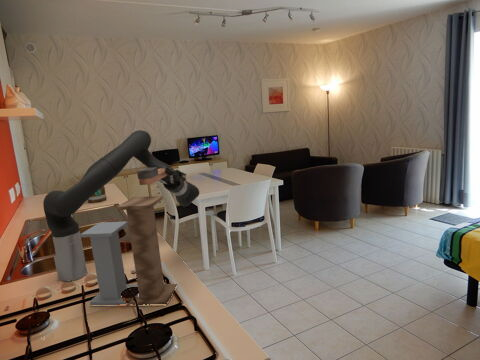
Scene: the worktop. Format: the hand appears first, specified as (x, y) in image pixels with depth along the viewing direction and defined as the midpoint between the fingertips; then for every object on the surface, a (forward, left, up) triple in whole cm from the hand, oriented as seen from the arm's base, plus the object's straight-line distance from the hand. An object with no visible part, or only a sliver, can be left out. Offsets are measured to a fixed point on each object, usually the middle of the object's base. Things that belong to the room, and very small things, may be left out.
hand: (159, 169), depth 123 cm
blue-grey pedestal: (-13, -19, -38) cm, 45 cm away
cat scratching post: (0, -19, -38) cm, 43 cm away
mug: (-98, +114, -39) cm, 155 cm away
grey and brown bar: (0, -4, -2) cm, 5 cm away
